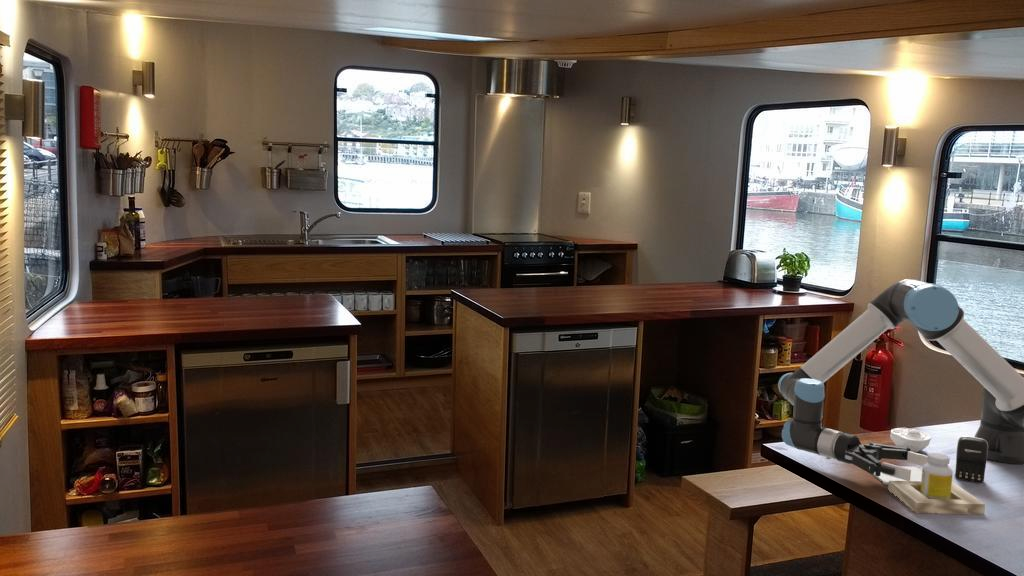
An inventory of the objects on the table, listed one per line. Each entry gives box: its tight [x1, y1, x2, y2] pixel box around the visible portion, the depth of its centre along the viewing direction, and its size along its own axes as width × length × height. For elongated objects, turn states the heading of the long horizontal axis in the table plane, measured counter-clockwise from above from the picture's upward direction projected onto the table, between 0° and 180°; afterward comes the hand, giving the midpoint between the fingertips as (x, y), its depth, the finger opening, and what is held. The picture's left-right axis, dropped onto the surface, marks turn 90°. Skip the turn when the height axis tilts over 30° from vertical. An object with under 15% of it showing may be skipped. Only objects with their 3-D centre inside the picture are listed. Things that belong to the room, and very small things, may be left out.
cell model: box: [889, 427, 933, 453], centre depth 234 cm, size 10×12×7 cm
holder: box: [887, 481, 986, 515], centre depth 195 cm, size 16×14×2 cm
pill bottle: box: [920, 452, 954, 499], centre depth 194 cm, size 6×6×12 cm
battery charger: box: [954, 435, 988, 484], centre depth 209 cm, size 7×4×11 cm, turn 61°
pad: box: [869, 465, 922, 485], centre depth 212 cm, size 14×12×1 cm
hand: (922, 469), depth 196 cm, fingers open, 13 cm apart
